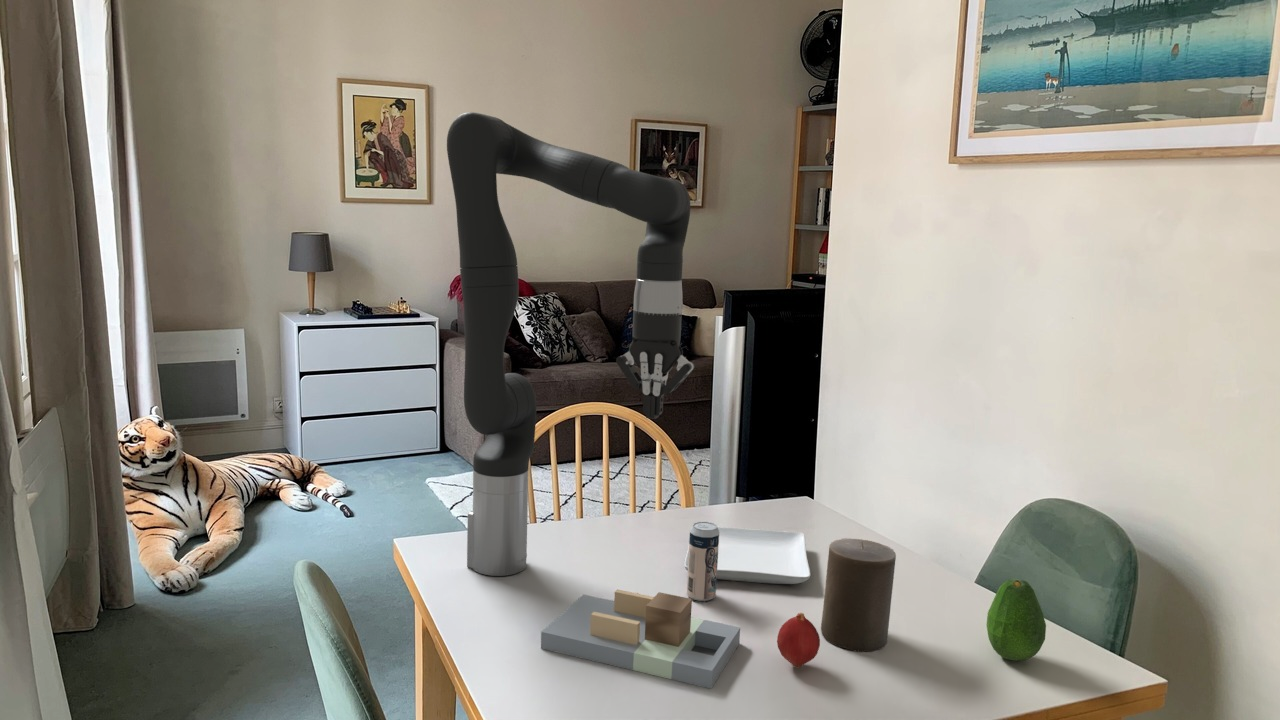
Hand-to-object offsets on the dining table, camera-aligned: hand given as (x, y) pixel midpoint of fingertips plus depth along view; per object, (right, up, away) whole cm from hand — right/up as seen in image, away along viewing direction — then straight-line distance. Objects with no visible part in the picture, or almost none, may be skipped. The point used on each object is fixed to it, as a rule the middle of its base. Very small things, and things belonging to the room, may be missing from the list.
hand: (652, 417), depth 146 cm
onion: (+20, -34, -18) cm, 43 cm away
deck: (-1, -32, -14) cm, 35 cm away
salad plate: (+17, -28, +18) cm, 37 cm away
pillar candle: (+30, -32, -8) cm, 45 cm away
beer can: (+8, -29, +4) cm, 31 cm away
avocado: (+52, -34, -13) cm, 63 cm away
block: (+2, -30, -16) cm, 34 cm away
